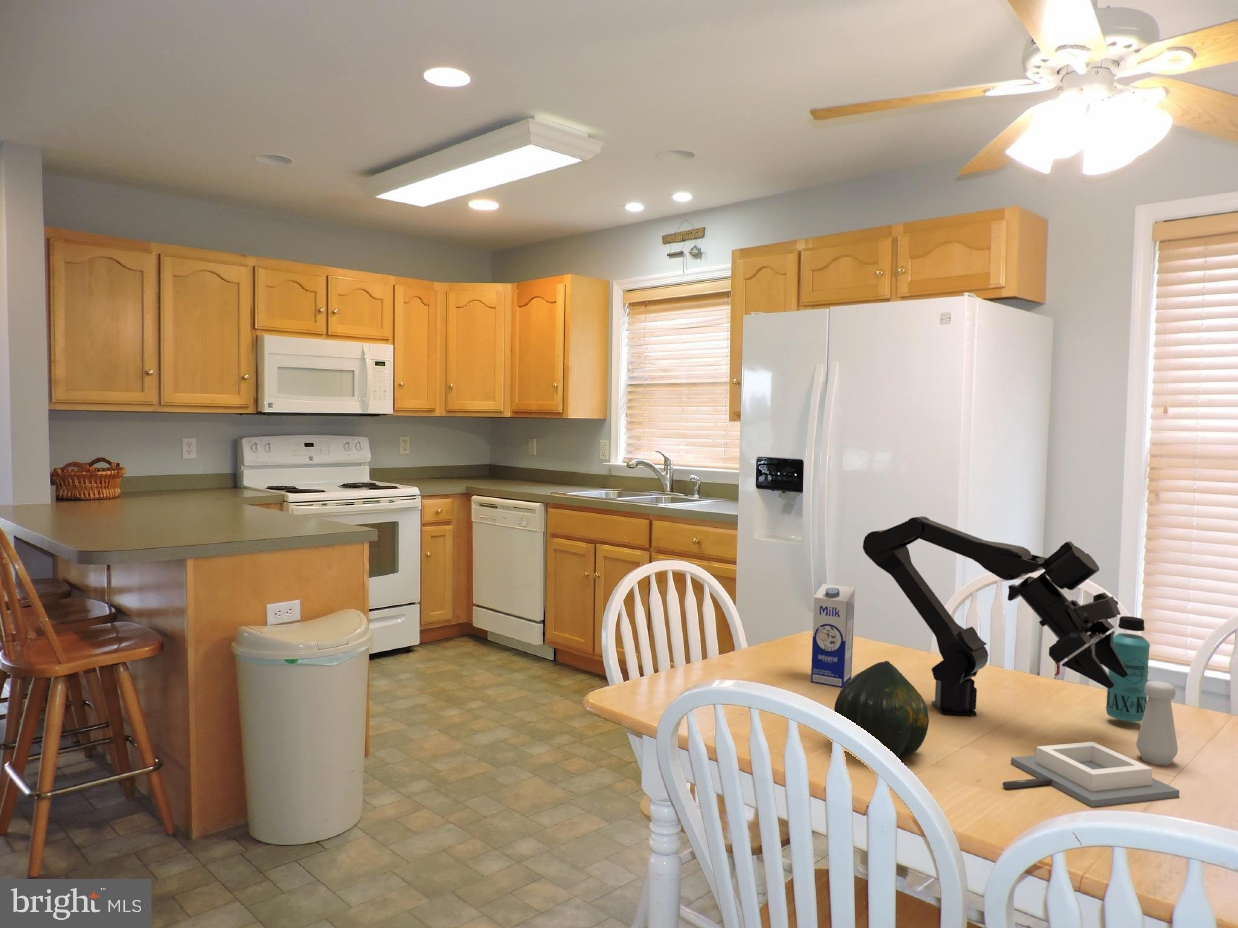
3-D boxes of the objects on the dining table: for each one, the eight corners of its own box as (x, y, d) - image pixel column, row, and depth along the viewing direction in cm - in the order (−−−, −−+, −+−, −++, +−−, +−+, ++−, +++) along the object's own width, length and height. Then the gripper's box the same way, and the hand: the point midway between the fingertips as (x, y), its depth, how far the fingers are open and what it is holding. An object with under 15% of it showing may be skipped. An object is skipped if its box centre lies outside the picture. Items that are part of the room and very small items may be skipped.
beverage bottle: (1096, 717, 160) (1102, 612, 159) (1130, 717, 160) (1136, 613, 159) (1120, 730, 153) (1126, 620, 152) (1154, 730, 154) (1161, 621, 153)
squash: (862, 739, 129) (914, 661, 133) (804, 712, 143) (852, 641, 147) (915, 791, 134) (964, 713, 138) (853, 759, 147) (899, 690, 151)
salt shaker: (1183, 769, 135) (1188, 689, 135) (1143, 765, 136) (1148, 686, 136) (1167, 756, 141) (1171, 679, 141) (1129, 752, 142) (1134, 676, 142)
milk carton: (852, 680, 179) (856, 586, 179) (843, 688, 174) (847, 591, 173) (819, 674, 183) (822, 582, 182) (809, 682, 177) (813, 587, 176)
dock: (1045, 812, 118) (1046, 787, 118) (968, 767, 134) (969, 745, 133) (1179, 796, 125) (1180, 773, 125) (1091, 755, 140) (1092, 734, 140)
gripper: (1073, 584, 139) (1147, 665, 131) (1103, 572, 152) (1172, 645, 145) (1020, 623, 144) (1089, 703, 137) (1053, 609, 158) (1118, 680, 151)
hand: (1119, 681), depth 142 cm, fingers open, 9 cm apart
